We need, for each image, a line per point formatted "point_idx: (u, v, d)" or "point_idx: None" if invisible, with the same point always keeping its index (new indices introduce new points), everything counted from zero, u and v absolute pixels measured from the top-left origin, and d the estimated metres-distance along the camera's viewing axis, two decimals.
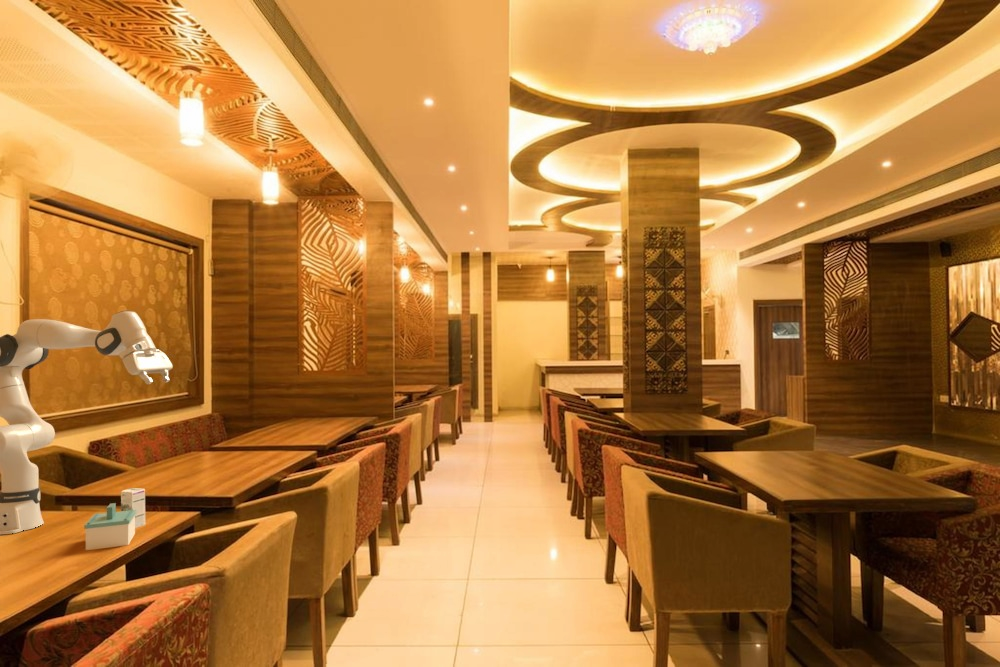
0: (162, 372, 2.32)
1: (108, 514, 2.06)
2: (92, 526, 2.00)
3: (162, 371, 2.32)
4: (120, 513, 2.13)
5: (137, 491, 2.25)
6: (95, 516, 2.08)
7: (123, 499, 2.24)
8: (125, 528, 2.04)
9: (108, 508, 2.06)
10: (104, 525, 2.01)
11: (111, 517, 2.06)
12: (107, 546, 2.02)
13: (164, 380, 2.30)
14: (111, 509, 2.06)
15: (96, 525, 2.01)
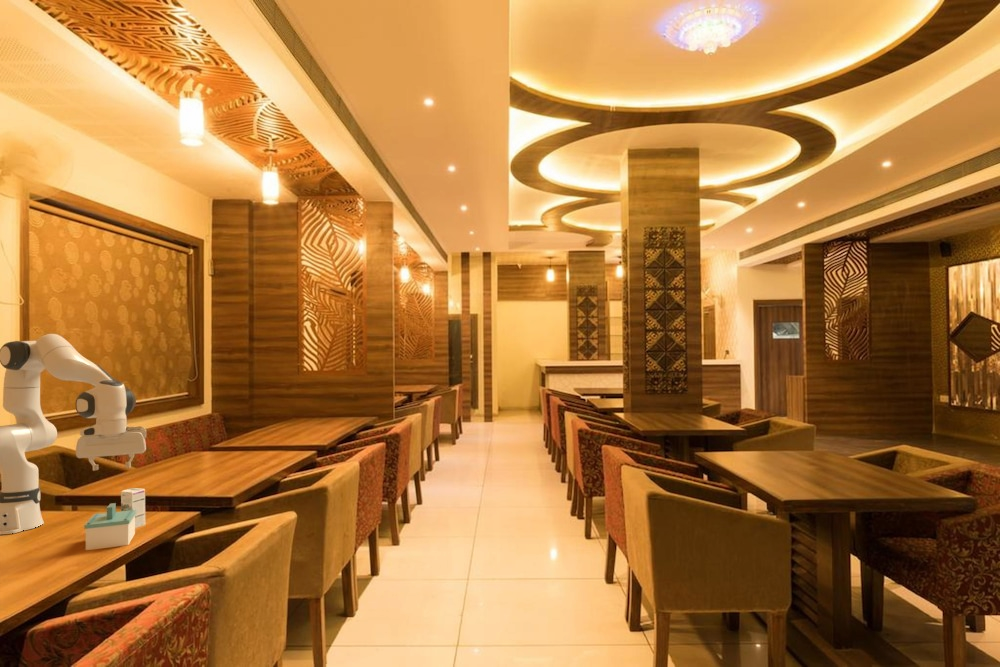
0: (129, 455, 2.11)
1: (108, 514, 2.06)
2: (92, 526, 2.00)
3: (129, 454, 2.11)
4: (120, 513, 2.13)
5: (137, 491, 2.25)
6: (95, 516, 2.08)
7: (123, 499, 2.24)
8: (125, 528, 2.04)
9: (108, 508, 2.06)
10: (104, 525, 2.01)
11: (111, 517, 2.06)
12: (107, 546, 2.02)
13: None
14: (111, 509, 2.06)
15: (96, 525, 2.01)
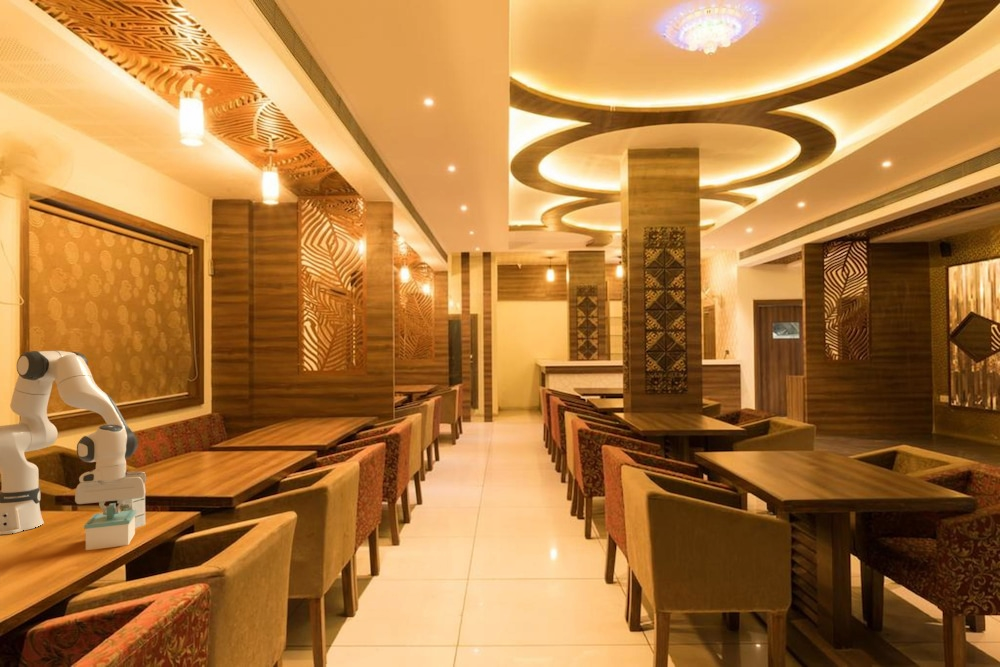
0: None
1: (108, 514, 2.06)
2: (92, 526, 2.00)
3: None
4: (120, 513, 2.13)
5: None
6: (95, 516, 2.08)
7: None
8: (125, 528, 2.04)
9: (108, 508, 2.06)
10: (104, 525, 2.01)
11: (111, 517, 2.06)
12: (107, 546, 2.02)
13: (114, 511, 2.09)
14: (111, 509, 2.06)
15: (96, 525, 2.01)
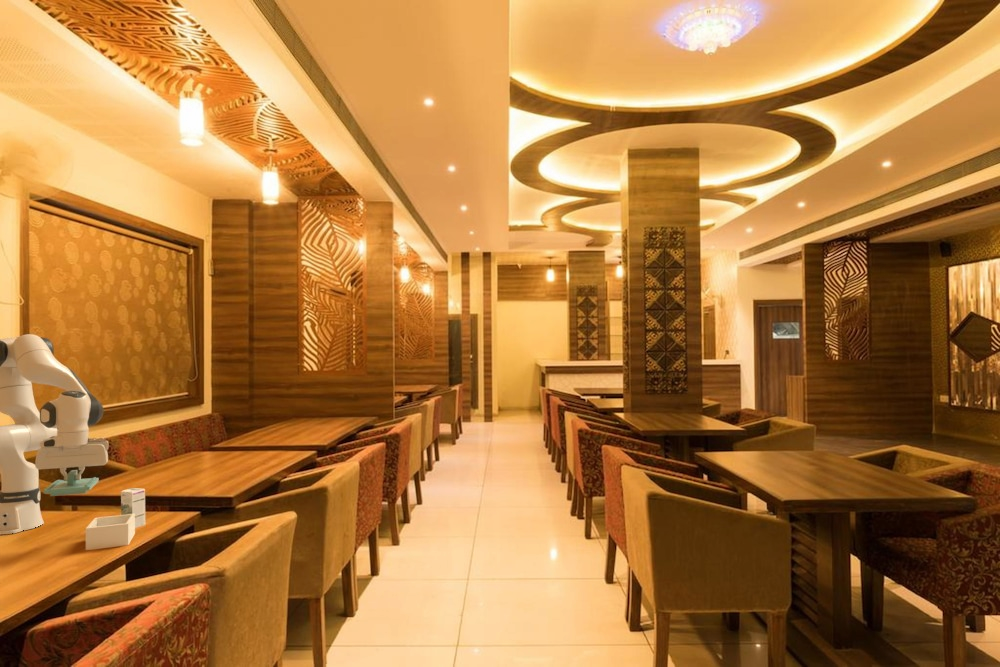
0: None
1: (69, 480, 2.05)
2: (52, 491, 1.99)
3: None
4: (82, 480, 2.12)
5: (137, 491, 2.25)
6: (56, 482, 2.07)
7: (123, 499, 2.24)
8: (125, 528, 2.04)
9: (69, 474, 2.05)
10: (64, 491, 2.01)
11: (72, 483, 2.05)
12: (107, 546, 2.02)
13: None
14: (72, 475, 2.05)
15: (56, 490, 2.00)
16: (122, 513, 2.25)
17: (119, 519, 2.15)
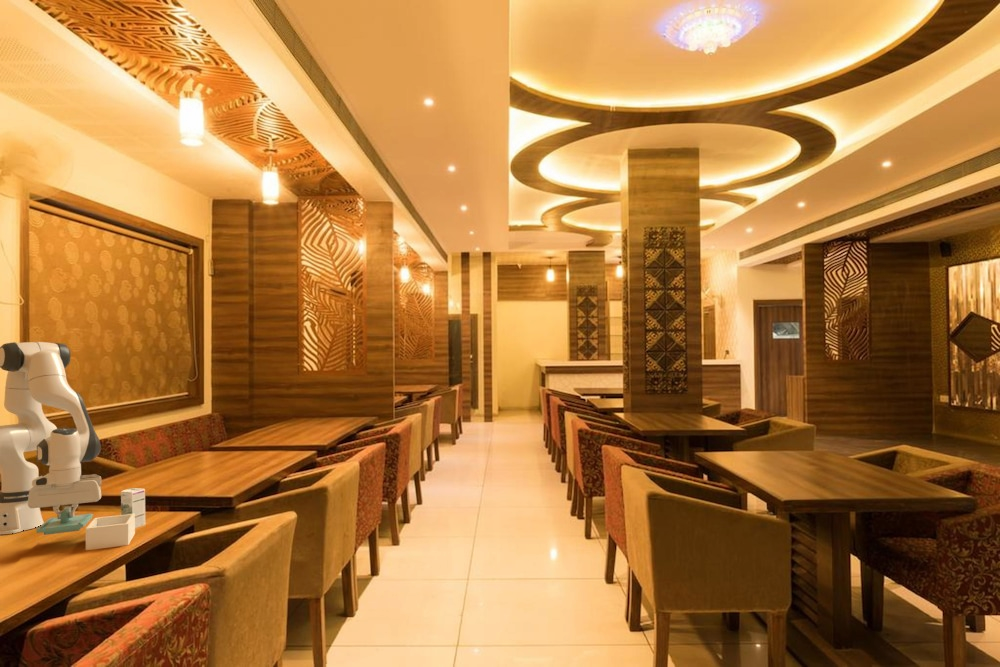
0: None
1: (62, 518, 2.04)
2: (45, 530, 1.98)
3: None
4: (76, 517, 2.11)
5: (137, 491, 2.25)
6: (49, 520, 2.06)
7: (123, 499, 2.24)
8: (125, 528, 2.04)
9: (62, 512, 2.04)
10: (57, 529, 1.99)
11: (65, 521, 2.04)
12: (107, 546, 2.02)
13: (69, 515, 2.07)
14: (65, 513, 2.04)
15: (49, 529, 1.99)
16: (122, 513, 2.25)
17: (119, 519, 2.15)
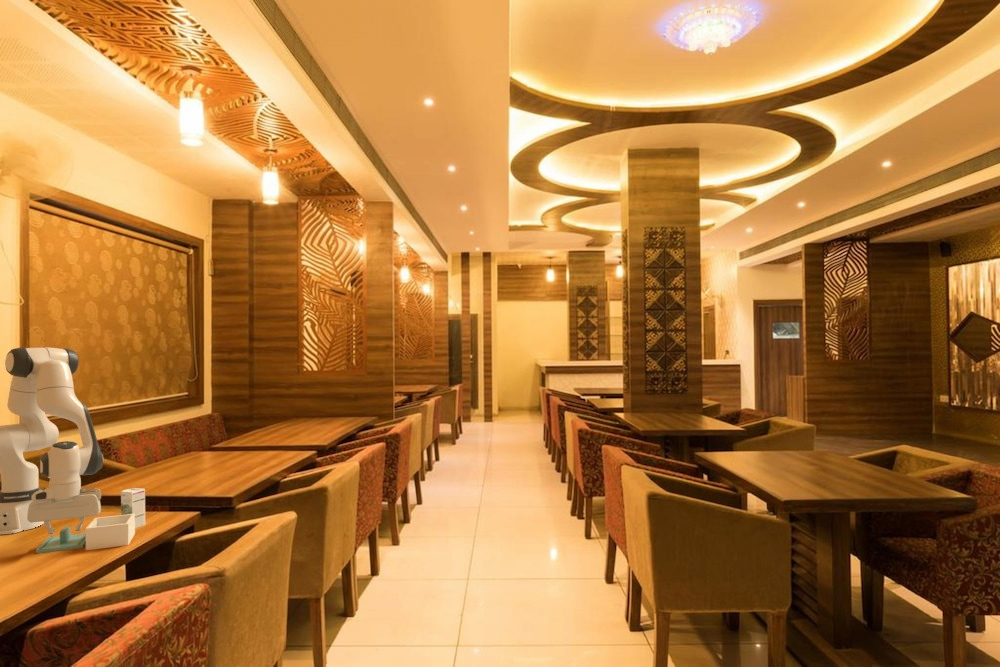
0: None
1: (61, 538, 2.04)
2: (44, 551, 1.98)
3: None
4: (75, 536, 2.11)
5: (137, 491, 2.25)
6: (49, 540, 2.06)
7: (123, 499, 2.24)
8: (125, 528, 2.04)
9: (61, 532, 2.04)
10: (56, 550, 1.99)
11: (64, 541, 2.04)
12: (107, 546, 2.02)
13: (76, 528, 2.08)
14: (64, 533, 2.04)
15: (48, 550, 1.99)
16: (122, 513, 2.25)
17: (119, 519, 2.15)
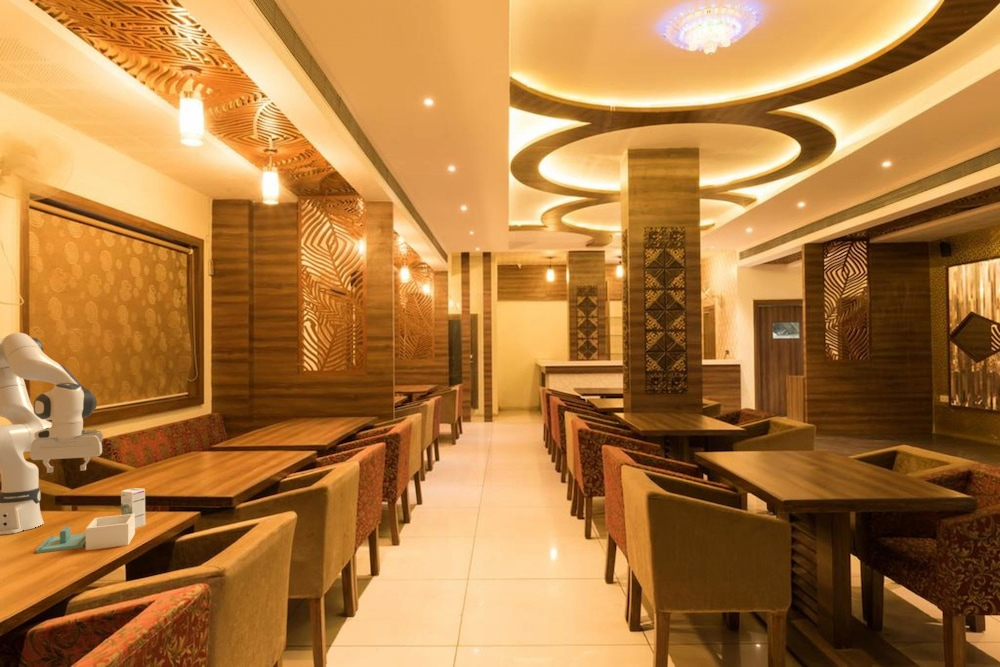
0: None
1: (61, 538, 2.04)
2: (44, 551, 1.98)
3: None
4: (75, 536, 2.11)
5: (137, 491, 2.25)
6: (49, 540, 2.06)
7: (123, 499, 2.24)
8: (125, 528, 2.04)
9: (61, 532, 2.04)
10: (56, 550, 1.99)
11: (64, 541, 2.04)
12: (107, 546, 2.02)
13: None
14: (64, 533, 2.04)
15: (48, 550, 1.99)
16: (122, 513, 2.25)
17: (119, 519, 2.15)
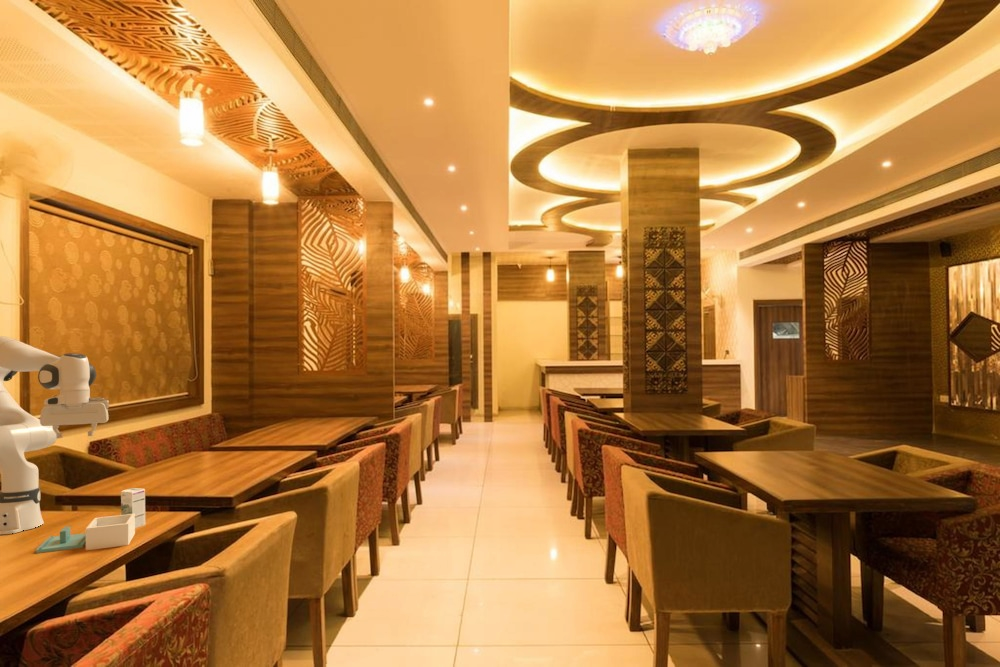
0: None
1: (61, 538, 2.04)
2: (44, 551, 1.98)
3: None
4: (75, 536, 2.11)
5: (137, 491, 2.25)
6: (49, 540, 2.06)
7: (123, 499, 2.24)
8: (125, 528, 2.04)
9: (61, 532, 2.04)
10: (56, 550, 1.99)
11: (64, 541, 2.04)
12: (107, 546, 2.02)
13: None
14: (64, 533, 2.04)
15: (48, 550, 1.99)
16: (122, 513, 2.25)
17: (119, 519, 2.15)
